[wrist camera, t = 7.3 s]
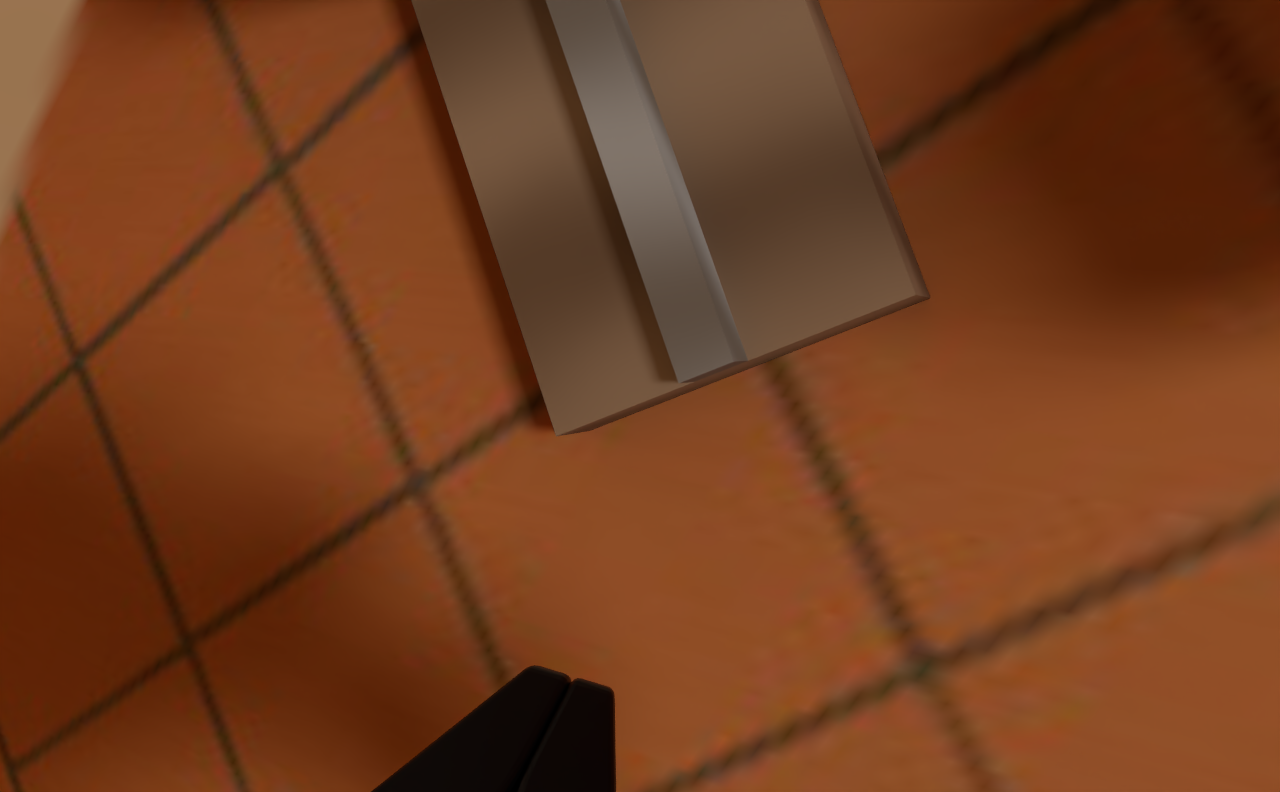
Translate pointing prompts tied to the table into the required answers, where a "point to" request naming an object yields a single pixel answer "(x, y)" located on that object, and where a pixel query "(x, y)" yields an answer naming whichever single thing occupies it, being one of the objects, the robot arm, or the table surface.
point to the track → (667, 188)
